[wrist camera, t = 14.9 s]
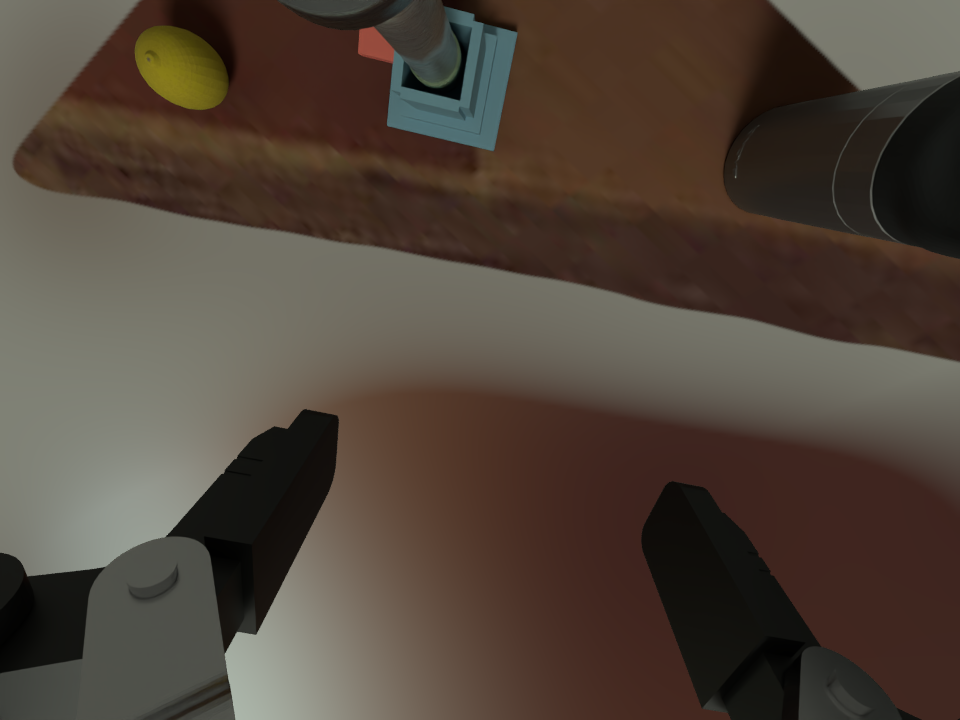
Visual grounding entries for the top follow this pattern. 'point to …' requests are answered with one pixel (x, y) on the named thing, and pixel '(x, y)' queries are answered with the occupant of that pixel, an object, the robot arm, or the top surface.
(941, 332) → the top surface
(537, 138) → the top surface
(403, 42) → the column
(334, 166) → the top surface
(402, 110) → the stand base
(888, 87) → the robot arm
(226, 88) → the lemon
